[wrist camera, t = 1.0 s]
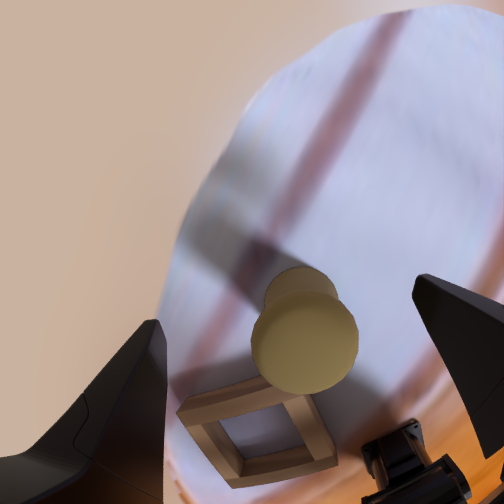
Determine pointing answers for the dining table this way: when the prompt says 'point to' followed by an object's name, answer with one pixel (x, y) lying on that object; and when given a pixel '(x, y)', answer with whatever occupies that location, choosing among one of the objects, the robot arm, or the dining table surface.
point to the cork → (304, 333)
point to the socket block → (245, 401)
